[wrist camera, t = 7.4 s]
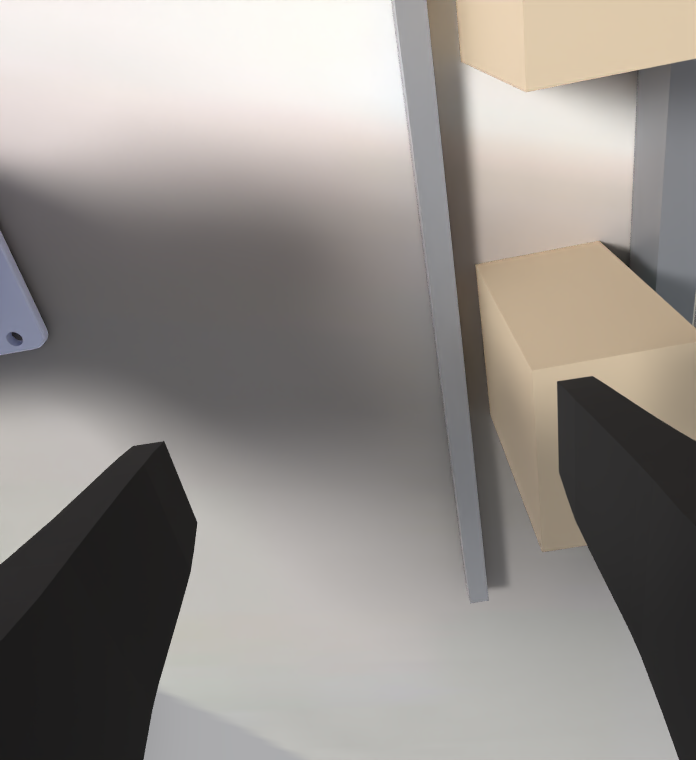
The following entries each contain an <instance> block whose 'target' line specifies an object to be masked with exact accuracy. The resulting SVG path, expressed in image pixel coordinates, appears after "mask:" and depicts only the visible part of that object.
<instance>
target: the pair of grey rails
mask: <svg viewBox="0 0 696 760" xmlns="http://www.w3.org/2000/svg"><path fill="white" fill-rule="evenodd" d="M391 1H392V9H393V17H394V25H395V33H396V40H397V48H398V56H399V64H400V72H401V79H402V87H403V95H404V103H405V111H406V119H407V126H408V134H409V142H410V150H411V158H412V165H413V173H414V181H415V189H416V197H417V205H418V212H419V220H420V228H421V236H422V244H423V251H424V259H425V267H426V275H427V283H428V290H429V298H430V306H431V314H432V322H433V330H434V337H435V345H436V353H437V361H438V369H439V376H440V384H441V392H442V400H443V408H444V415H445V423H446V431H447V439H448V447H449V455H450V462H451V470H452V478H453V486H454V494H455V501H456V509H457V517H458V525H459V533H460V541H461V548H462V556H463V564H464V572H465V580H466V586H467V591H468V595H469V600H470V603H475V602H482V601H489V598H488V588H487V578H486V569H485V559H484V549H483V540H482V530H481V521H480V511H479V501H478V492H477V482H476V472H475V463H474V453H473V443H472V434H471V424H470V415H469V405H468V395H467V386H466V376H465V366H464V357H463V347H462V337H461V328H460V318H459V309H458V299H457V289H456V280H455V270H454V260H453V251H452V241H451V231H450V222H449V212H448V202H447V193H446V183H445V174H444V164H443V154H442V145H441V135H440V125H439V116H438V106H437V96H436V87H435V77H434V68H433V58H432V48H431V39H430V29H429V19H428V10H427V0H391ZM629 268H630V269H631V270H632V271H633V272H634V273H635V274H636V275H637V276H638V277H640V278H641V279H642V280H643V281H644V282H645V283H646V284H647V285H648V286H650V287H651V288H652V289H653V290H654V291H655V292H656V293H657V294H658V295H659V296H661V297H662V298H663V299H664V300H665V301H666V302H667V303H668V304H669V305H670V306H672V307H673V308H674V309H675V310H676V311H677V312H678V313H679V314H680V315H682V316H683V317H684V318H685V319H686V320H687V321H688V322H689V323H690V324H691V325H693V326H694V317H695V307H696V59H691V60H686V61H681V62H676V63H671V64H666V65H661V66H656V67H651V68H646V69H641V70H638V84H637V106H636V129H635V152H634V174H633V197H632V220H631V242H630V265H629Z"/></svg>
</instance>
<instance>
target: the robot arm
mask: <svg viewBox="0 0 696 760" xmlns="http://www.w3.org/2000/svg"><path fill="white" fill-rule="evenodd" d="M11 332H16V333H18V334H19V335H20V336H21V337H22V339H23V341H19V340H17V339H15V338H14V337H13V336H12V333H11ZM47 339H48V331H47V328H46V326H45V324H44V322H43V320H42V318H41V315H40V313H39V311H38V309H37V307H36V305H35V303H34V301H33V298H32V296H31V294H30V292H29V290H28V288H27V286H26V284H25V282H24V279H23V277H22V275H21V273H20V271H19V269H18V267H17V265H16V262H15V260H14V258H13V256H12V254H11V252H10V250H9V248H8V246H7V243H6V241H5V239H4V237H3V235H2V233H1V231H0V355H5V354H10V353H16V352H21V351H27V350H33V349H37V348H39V347H41V346H42V345H43V344H44V343H45V341H46V340H47ZM557 408H558V457H559V474H560V477H561V480H562V483H563V486H564V489H565V492H566V496H567V499H568V501H569V504H570V507H571V510H572V513H573V516H574V518H575V521H576V523H577V525H578V527H579V529H580V531H581V534H582V536H583V538H584V540H585V542H586V544H587V546H588V548H589V550H590V552H591V554H592V556H593V558H594V560H595V562H596V564H597V566H598V568H599V570H600V572H601V574H602V576H603V578H604V580H605V582H606V584H607V586H608V588H609V590H610V592H611V594H612V596H613V598H614V600H615V602H616V604H617V606H618V608H619V610H620V612H621V614H622V616H623V618H624V620H625V622H626V624H627V626H628V628H629V630H630V632H631V635H632V637H633V639H634V641H635V644H636V646H637V648H638V650H639V653H640V655H641V657H642V660H643V663H644V665H645V668H646V671H647V673H648V676H649V679H650V681H651V684H652V687H653V689H654V692H655V695H656V697H657V700H658V702H659V705H660V708H661V710H662V713H663V716H664V719H665V721H666V724H667V727H668V730H669V733H670V735H671V738H672V741H673V744H674V746H675V749H676V752H677V755H678V758H679V760H696V441H695V440H693V439H691V438H690V437H688V436H686V435H685V434H683V433H681V432H680V431H678V430H676V429H675V428H673V427H671V426H670V425H668V424H666V423H665V422H663V421H662V420H660V419H658V418H657V417H655V416H654V415H652V414H650V413H649V412H647V411H646V410H644V409H643V408H641V407H640V406H638V405H637V404H635V403H633V402H632V401H630V400H629V399H627V398H626V397H624V396H623V395H621V394H620V393H618V392H617V391H615V390H614V389H612V388H611V387H609V386H608V385H606V384H605V383H603V382H602V381H600V380H598V379H597V378H595V377H593V376H589V377H582V378H576V379H569V380H563V381H557ZM196 529H197V521H196V518H195V516H194V513H193V511H192V509H191V506H190V504H189V501H188V499H187V496H186V494H185V491H184V489H183V486H182V484H181V481H180V479H179V477H178V474H177V472H176V469H175V467H174V464H173V462H172V459H171V457H170V454H169V452H168V449H167V447H166V444H165V442H164V441H163V442H156V443H150V444H143V445H137V446H133V447H131V448H130V449H129V450H128V451H126V452H125V453H124V454H123V455H121V456H120V457H119V458H118V459H117V460H116V461H115V462H114V463H112V464H111V465H110V466H109V467H108V468H107V469H106V470H105V471H104V472H103V473H102V474H101V475H100V476H99V477H97V478H96V479H95V480H94V481H93V482H92V483H91V484H90V485H89V486H88V487H87V488H86V489H85V490H84V491H83V492H81V493H80V494H79V495H78V496H77V497H76V498H75V499H74V500H73V501H72V502H71V503H70V504H69V505H68V506H67V507H65V508H64V509H63V510H62V511H61V512H60V513H59V514H58V515H57V516H56V517H55V518H54V519H52V520H51V521H50V522H49V523H48V524H47V525H46V526H44V527H43V528H42V529H41V530H40V531H39V532H38V533H36V534H35V535H34V536H33V537H32V538H31V539H30V540H28V541H27V542H26V543H25V544H24V545H23V546H21V547H20V548H19V549H18V550H17V551H16V552H15V553H13V554H12V555H11V556H10V557H9V558H8V559H6V560H5V561H4V562H3V563H1V564H0V760H143V759H144V753H145V748H146V742H147V736H148V731H149V725H150V719H151V714H152V709H153V705H154V701H155V696H156V693H157V688H158V684H159V681H160V677H161V674H162V670H163V667H164V663H165V660H166V657H167V653H168V650H169V646H170V643H171V639H172V636H173V632H174V629H175V626H176V622H177V619H178V615H179V612H180V608H181V605H182V601H183V597H184V594H185V590H186V587H187V583H188V579H189V576H190V572H191V566H192V559H193V553H194V545H195V537H196Z"/></svg>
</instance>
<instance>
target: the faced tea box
mask: <svg viewBox="0 0 696 760" xmlns="http://www.w3.org/2000/svg"><path fill="white" fill-rule="evenodd" d="M456 10H457V22H458V34H459V46H460V58H461V62H463V63H465V64H467V65H469V66H471V67H473V68H475V69H478V70H480V71H482V72H484V73H486V74H488V75H490V76H493V77H495V78H497V79H499V80H501V81H503V82H505V83H507V84H510V85H512V86H514V87H516V88H518V89H520V90H522V91H524V92H530V91H535V90H540V89H545V88H550V87H555V86H560V85H565V84H570V83H575V82H580V81H585V80H590V79H595V78H600V77H605V76H610V75H616V74H621V73H626V72H631V71H636V70H641V69H646V68H651V67H656V66H661V65H666V64H671V63H676V62H681V61H686V60H691V59H696V0H456Z"/></svg>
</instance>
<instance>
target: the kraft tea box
mask: <svg viewBox="0 0 696 760" xmlns="http://www.w3.org/2000/svg"><path fill="white" fill-rule="evenodd" d="M475 267H476V277H477V287H478V297H479V307H480V318H481V328H482V338H483V348H484V358H485V368H486V378H487V388H488V398H489V408H490V415H491V418H492V420H493V423H494V426H495V428H496V431H497V434H498V436H499V439H500V442H501V444H502V447H503V450H504V452H505V455H506V457H507V460H508V463H509V465H510V468H511V471H512V473H513V476H514V479H515V481H516V484H517V487H518V489H519V492H520V495H521V497H522V500H523V502H524V505H525V508H526V510H527V513H528V516H529V518H530V521H531V524H532V526H533V529H534V532H535V534H536V537H537V540H538V542H539V545H540V547H541V550H542V552H547V551H553V550H560V549H566V548H573V547H580V546H586V545H587V544H586V542H585V540H584V538H583V536H582V534H581V531H580V529H579V527H578V525H577V523H576V521H575V518H574V516H573V513H572V510H571V507H570V504H569V501H568V499H567V496H566V492H565V489H564V486H563V483H562V480H561V477H560V474H559V457H558V408H557V381H563V380H569V379H576V378H582V377H589V376H593V377H595V378H597V379H598V380H600V381H602V382H603V383H605V384H606V385H608V386H609V387H611V388H612V389H614V390H615V391H617V392H618V393H620V394H621V395H623V396H624V397H626V398H627V399H629V400H630V401H632V402H633V403H635V404H637V405H638V406H640V407H641V408H643V409H644V410H646V411H647V412H649V413H650V414H652V415H654V416H655V417H657V418H658V419H660V420H662V421H663V422H665V423H666V424H668V425H670V426H671V427H673V428H675V429H676V430H678V431H680V432H681V433H683V434H685V435H686V436H688V437H690V438H691V439H693V440H695V441H696V328H695V327H694V326H693V325H691V324H690V323H689V322H688V321H687V320H686V319H685V318H684V317H683V316H682V315H680V314H679V313H678V312H677V311H676V310H675V309H674V308H673V307H672V306H670V305H669V304H668V303H667V302H666V301H665V300H664V299H663V298H662V297H661V296H659V295H658V294H657V293H656V292H655V291H654V290H653V289H652V288H651V287H650V286H648V285H647V284H646V283H645V282H644V281H643V280H642V279H641V278H640V277H638V276H637V275H636V274H635V273H634V272H633V271H632V270H631V269H630V268H629V267H627V266H626V265H625V264H624V263H623V262H622V261H621V260H620V259H619V258H617V257H616V256H615V255H614V254H613V253H612V252H611V251H610V250H609V249H608V248H606V247H605V246H604V245H603V244H602V243H601V242H600V241H596V242H590V243H585V244H580V245H575V246H569V247H564V248H559V249H554V250H549V251H543V252H538V253H533V254H528V255H522V256H517V257H512V258H507V259H501V260H496V261H491V262H486V263H480V264H475Z"/></svg>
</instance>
